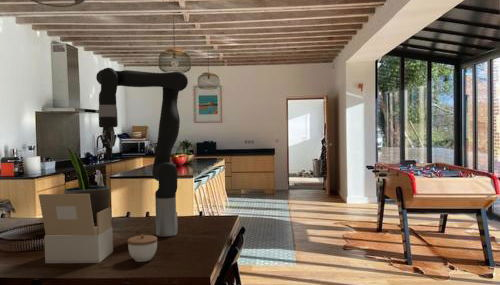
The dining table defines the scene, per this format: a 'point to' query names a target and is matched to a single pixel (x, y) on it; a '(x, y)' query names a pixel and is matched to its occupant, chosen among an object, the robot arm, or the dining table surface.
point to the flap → (67, 214)
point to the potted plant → (89, 188)
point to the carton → (82, 244)
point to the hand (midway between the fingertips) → (109, 156)
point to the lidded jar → (142, 247)
